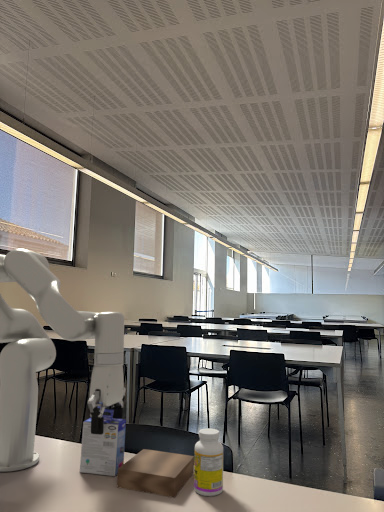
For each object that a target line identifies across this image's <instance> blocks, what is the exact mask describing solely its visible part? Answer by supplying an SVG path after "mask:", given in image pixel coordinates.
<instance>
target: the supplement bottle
mask: <svg viewBox="0 0 384 512" xmlns="http://www.w3.org/2000/svg"><path fill="white" fill-rule="evenodd" d="M198 438H199V440H198V441H197V442H196V443H195V444H194V473H193V489H194V491H195V492H196V493H197V494H198V495H201V496H205V497H214V496H219V495H220V494H221V493H223V490H224V445H223V444H222V443H221V442H220V441H219V438H220V430H218V429H215V428H201V429H199V431H198Z"/></svg>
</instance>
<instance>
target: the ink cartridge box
mask: <svg viewBox="0 0 384 512" xmlns="http://www.w3.org/2000/svg"><path fill="white" fill-rule="evenodd" d="M104 413H109V415H107V414H104ZM113 413H114V410H111V408H110V409H108V408H105V410H104V412H103V415H102V417H104V430H103V434H102V435H99V434H92V433H91V417H89V418H88V419H86V420H84V421H83V422H82V436H81V437H82V438H81V450H80V462H79V463H80V464H79V473H82V474H83V473H85V474H94V475H100V476H101V475H102V476H110V477H116V476H118V468H119V467H121V466H122V465H123V464H125V461H124V460H125V443H126V442H125V441H126V425H127V423H126V422H127V420H126V418H124V419H114V418H113Z"/></svg>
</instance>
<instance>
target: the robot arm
mask: <svg viewBox="0 0 384 512" xmlns="http://www.w3.org/2000/svg"><path fill="white" fill-rule="evenodd" d="M0 283H17V285H19V286H20V287H21V288H22V289H23V290H24V291H25V292H26V293H27V294H28V296H30V297H31V298H32V300H33V301H34V302H35V305H36V308H37V311H38V313H39V315H40V317H41V318H42V320H43V321H44V322H45V324H47V325H48V326H49V327H50V328H51V329H52V330H53V332H55V333H56V334H57V335H58V336H59V337H61V338H62V339H64V340H65V341H70V342H76V341H85V340H92V339H94V356H93V357H94V358H93V359H94V364H93V367H92V371H91V377H90V386H89V397H88V400H87V406H88V413H89V416H90V417H89V418H91V433H92V434H99V435H102V434H103V430H104V417H102V415H104V413H105V412H104V410H105V409H106V408H108V407H111V406H112V407H111V408H110V410H114V413H113V418H114V419H123V417H124V413H123V412H124V407H125V406H124V405H125V404H124V401H125V398H126V397H125V396H126V389H127V388H126V387H125V382H124V381H125V380H124V368H123V366H124V357H125V356H124V352H125V351H124V350H125V315H124V314H123V313H122V312H120V311H102V312H95V311H84V310H83V311H82V310H81V311H80V310H76V309H75V308H74V307H73V306H72V305H71V304H70V303H69V302H68V301H67V300H66V299H65V298H64V297H63V296H62V294H61V292H60V289H61V284H62V283H61V280H60V279H59V277H57V276H56V275H55V274H54V272H52V271H51V270H50V264H49V261H48V259H47V257H45V256H44V255H43V254H42V253H40V252H35V251H32V250H29V249H25V248H15V249H12V250H10V251H9V252H7V253H6V255H5V254H0ZM3 343H5V344H6V343H7V344H6V345H5V346H4V347H3V348H2V350H1V352H0V473H2V472H3V473H5V472H7V473H8V472H16V471H21V470H24V469H29V468H31V467H33V466H35V465H36V464H38V463H39V462H40V454H39V453H38V452H37V451H35V439H36V428H37V427H36V426H37V425H36V424H37V413H38V404H39V403H38V401H39V399H38V398H39V385H38V384H39V382H38V378H37V372H40V371H45V370H47V369H48V368H50V367H51V366H52V365H53V363H54V362H55V360H56V357H57V350H56V346H55V343H54V342H53V341H52V339H51V337H50V336H49V335H48V333H47V332H46V330H45V329H44V327H43V326H42V324H41V323H40V322H39V320H38V318H37V317H36V316H35V315H34V314H33V313H32V312H31V311H29V310H27V309H23V308H13V307H11V306H10V305H9V303H8V302H7V301H6V300H5V299H4V297H3V296H2V293H0V344H3ZM103 412H104V413H103Z"/></svg>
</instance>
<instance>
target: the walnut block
mask: <svg viewBox="0 0 384 512" xmlns="http://www.w3.org/2000/svg"><path fill="white" fill-rule="evenodd" d="M194 457H195V455H188V454H183V453H182V454H181V453H175V452H167V451H161V450H153V449H147V448H146V449H145V448H143V449H142V450H140V451H139V452H138V453H136V454H135V455H134V456H132V457H131V458H130V459H129V460H128V461H126V462H124V464H123V465H122V466H121V467H119V468H118V474H117V477H116V479H117V480H116V488H119V489H124V490H129V491H135V492H142V493H146V494H152V495H157V496H163V497H168V498H176V496H177V495H178V494H179V492H180V491H181V490H182V488H183V487H184V486H185V485H186V484H187V482H188V481H189V480H190V479H191V478H192V476H194Z"/></svg>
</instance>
